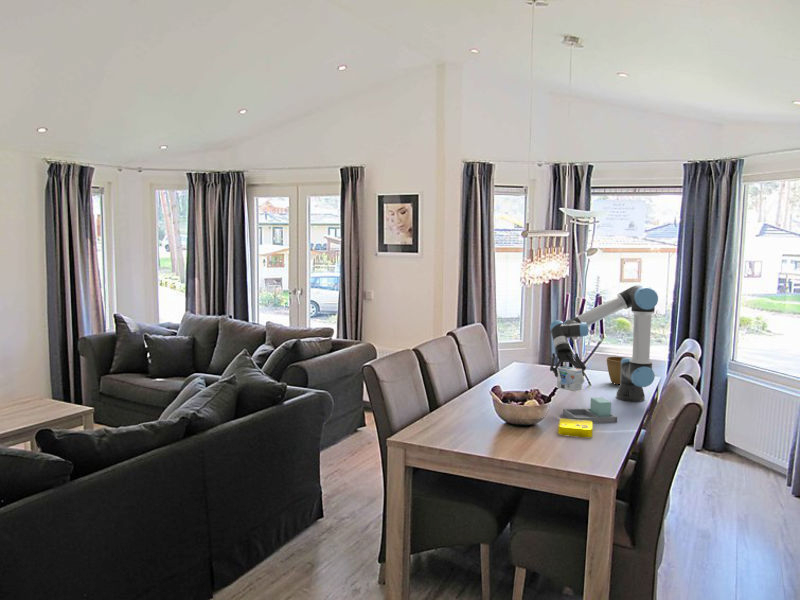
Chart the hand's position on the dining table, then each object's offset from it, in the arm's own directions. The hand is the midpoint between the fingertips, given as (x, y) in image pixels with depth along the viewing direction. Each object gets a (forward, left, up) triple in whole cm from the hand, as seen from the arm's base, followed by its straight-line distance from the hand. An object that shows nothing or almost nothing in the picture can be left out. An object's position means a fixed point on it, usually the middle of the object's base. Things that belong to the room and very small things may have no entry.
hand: (571, 381), depth 310 cm
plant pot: (-57, -65, -17) cm, 88 cm away
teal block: (-11, +10, -16) cm, 22 cm away
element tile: (+9, +29, -17) cm, 36 cm away
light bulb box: (0, -3, -5) cm, 5 cm away
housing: (-6, +10, -17) cm, 21 cm away
